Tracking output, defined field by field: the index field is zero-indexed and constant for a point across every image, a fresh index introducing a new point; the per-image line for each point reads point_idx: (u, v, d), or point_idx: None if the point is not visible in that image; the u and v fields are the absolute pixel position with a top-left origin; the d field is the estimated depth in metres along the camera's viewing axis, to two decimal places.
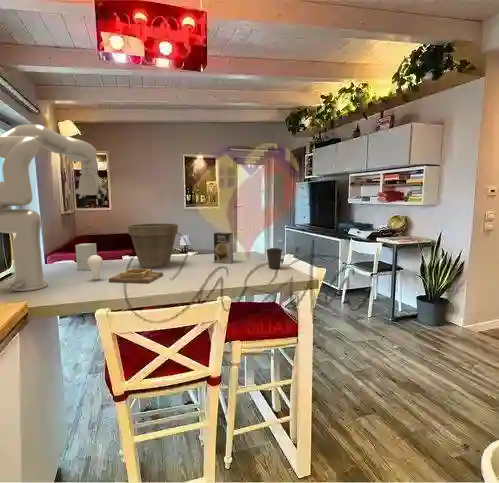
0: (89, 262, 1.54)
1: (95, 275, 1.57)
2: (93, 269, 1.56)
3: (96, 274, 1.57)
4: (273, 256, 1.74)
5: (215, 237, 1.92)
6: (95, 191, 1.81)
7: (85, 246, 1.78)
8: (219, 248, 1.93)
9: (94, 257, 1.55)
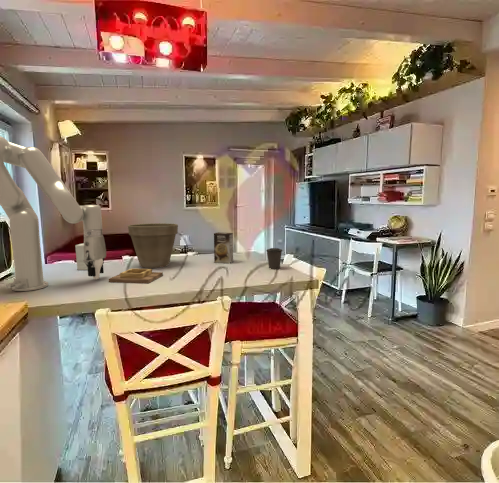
0: None
1: None
2: None
3: (96, 274, 1.57)
4: (273, 256, 1.74)
5: (215, 237, 1.92)
6: (105, 253, 1.61)
7: None
8: (219, 248, 1.93)
9: None
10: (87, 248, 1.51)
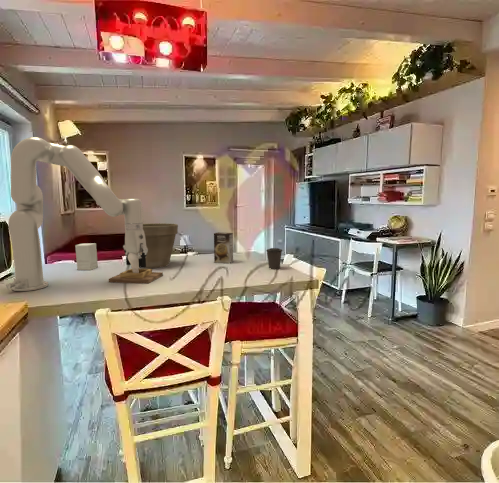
0: (136, 257, 1.56)
1: (138, 270, 1.59)
2: (137, 264, 1.58)
3: (138, 269, 1.59)
4: (273, 256, 1.74)
5: (215, 237, 1.92)
6: None
7: (85, 246, 1.78)
8: (219, 248, 1.93)
9: None
10: (141, 241, 1.54)
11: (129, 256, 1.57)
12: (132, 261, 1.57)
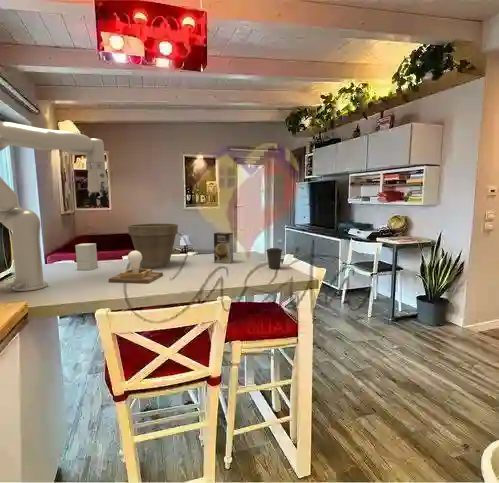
0: (136, 257, 1.56)
1: (138, 270, 1.59)
2: (137, 264, 1.58)
3: (138, 269, 1.59)
4: (273, 256, 1.74)
5: (215, 237, 1.92)
6: None
7: (85, 246, 1.78)
8: (219, 248, 1.93)
9: (138, 252, 1.58)
10: (102, 179, 1.60)
11: (129, 256, 1.56)
12: (132, 261, 1.56)
